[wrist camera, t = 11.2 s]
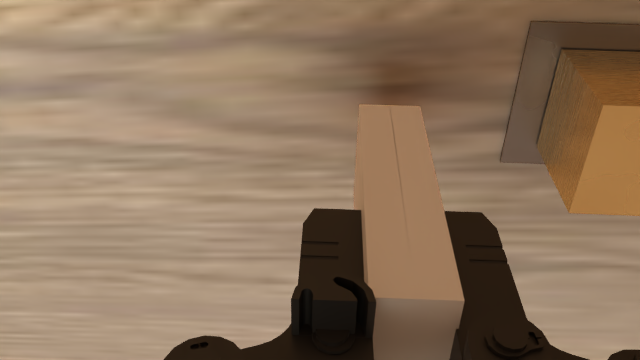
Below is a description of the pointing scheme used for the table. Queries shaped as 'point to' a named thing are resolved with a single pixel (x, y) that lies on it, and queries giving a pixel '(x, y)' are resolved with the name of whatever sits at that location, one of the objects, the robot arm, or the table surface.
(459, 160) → the table surface
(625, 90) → the block
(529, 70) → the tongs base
